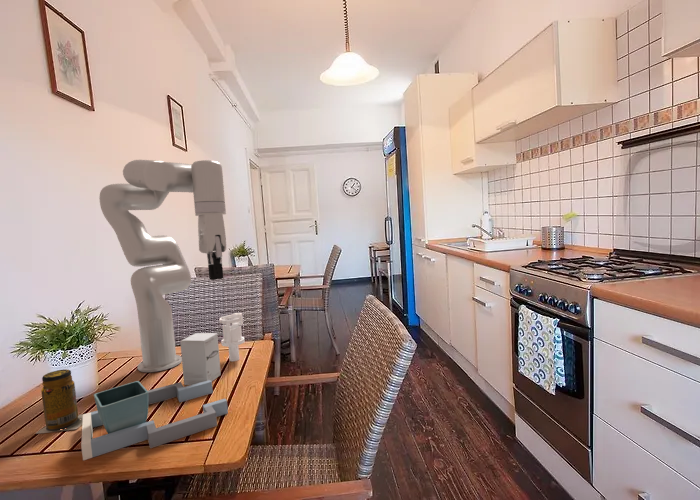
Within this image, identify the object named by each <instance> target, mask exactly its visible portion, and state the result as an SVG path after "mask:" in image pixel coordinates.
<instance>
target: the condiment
mask: <svg viewBox="0 0 700 500" xmlns="http://www.w3.org/2000/svg"><path fill="white" fill-rule="evenodd" d="M41 381H42V386H43V387H42V389H41V400H42V409H43V416H44V417H43V418H44V425H45V426H43V427H42V428H41V429H39V430H38V431H37V432H35V434H36V435H37V434H45V433H47V434H48V433H49V434H50V433H55V432H56V433H57V432H60V431H61V432H64V431H69V430H78V428H80V427H82V423H83V414H79V411H78V410H79V409H78V402H77V395H76V393H77V392H76V385H75V381H74V380H73V375H72V370H70V369H68V368H67V369H59V370H53V371H51V372H47V373H46V374H44V375H43V376H42V378H41ZM65 428H67V429H65ZM60 429H63V430H60Z"/></svg>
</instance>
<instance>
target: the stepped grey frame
mask: <svg viewBox="0 0 700 500" xmlns="http://www.w3.org/2000/svg"><path fill="white" fill-rule="evenodd" d="M148 392H149V393H148V406H149V405H152V404H156V403H160V402H164V401H168V400H171V399H173V398H177V400H178V402H179V403H182V402H186V401H189V400H193V399H197V398H200V397H204V396H206V395H210V394H213V392H214V391H213V381H211V380H208V381H204V382H201V383H197V384H193V385H185V386H184V384H183V383H182V381H179V382H176V383H172V384H167V385H164V386H161V387H156V388H153V389H149V390H148ZM228 408H229V407H228V400H227V399H226V398H222V399H218V400H216V401H215V400H214V401H212V402H209V403H205V404H202V412H203V413H199V414H196V415H193V416H190V417H187V418H184V419H180V420H177V421H174V422H170V423H168V424H165V425H161V426H158V427H156V424H155V423H156V422H155V421H154V419H153V420H150V421H146V422H145V423H142V424H139V425H136V426H132V427H129V428H126V429H122V430H119V431H116V432H113V433H109V434H108V433H107V434H103V435H100V436H97V437H93V435H94V434H93V432H94V430H93V428H97V427H100V426H104V425H103V423H102V421H101V419H100V417H99V414H98V410H94V411H90V412H87V413H84V414H83V423H82V425H81V427H82V428H81V429H82V430H81V443H80V447H81V454H82V461H86V460H89V459H92V458H96V457H99V456H101V455H104V454H107V453H111V452H114V451H116V450H119V449H122V448H126V447H129V446H131V445H136V444H137V443H138V444H139V443H140V442H144V441H146V440H147V442H148V445H149V448H150V449H152V448H156V447H159V446H161V445H165V444H168V443H170V442H174V441H176V440H179V439H182V438H185V437H187V436H188V437H189V436H191V435H193V434H197V433H201V432H202V431H207V430H209V429H211V428H214V427H218V421H217V420H218V419H217V417H220V416H224V415H226V414H227V415H228V414H229V410H228Z"/></svg>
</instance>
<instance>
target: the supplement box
mask: <svg viewBox="0 0 700 500" xmlns="http://www.w3.org/2000/svg"><path fill="white" fill-rule="evenodd" d="M179 343H180V352H181V353H180V354H181V355H180V356H181V357H182V361H181V365H182V375H183V377H182V378H183V386H190V385H193V384H197V383H201V382H204V381H208V380H211V381H212V382H213V381H215V380H217V378H218V377H220V376H221V361H220V360H221V359H220V348H219V347H220V346H219V336H218V333H217V332H207V333H206V332H202V333H201V332H195V333H193V334H191V335H189V336H187V337H186V338H185V337H184V338H183V339H182V340H180V342H179Z"/></svg>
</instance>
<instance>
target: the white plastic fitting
mask: <svg viewBox="0 0 700 500" xmlns="http://www.w3.org/2000/svg"><path fill="white" fill-rule="evenodd" d="M243 319H244V318H243V313H242V312H239V313H237V312H235V313H232V314H229V315H228V314H227V315H225V316H224V315H223V316H221V317H220V318H219V324H222V333H223V334H222V335H223V339H221V346H223V347H226V348H227V347H228V358H229V359H228V360H229V362H237V361H239V360H240V348H239V346H240V345H242V344H244V343H245V337H244V336H242V334H243V333H242V325H244V322H243V321H244V320H243Z"/></svg>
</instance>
